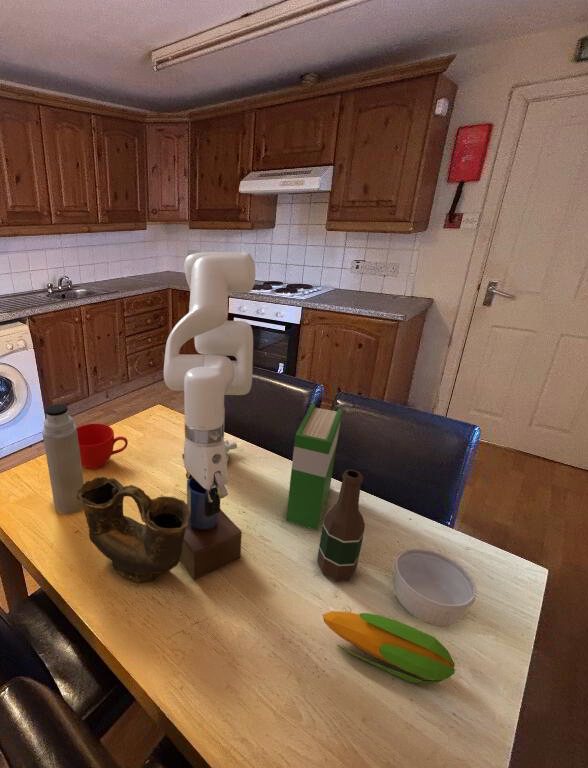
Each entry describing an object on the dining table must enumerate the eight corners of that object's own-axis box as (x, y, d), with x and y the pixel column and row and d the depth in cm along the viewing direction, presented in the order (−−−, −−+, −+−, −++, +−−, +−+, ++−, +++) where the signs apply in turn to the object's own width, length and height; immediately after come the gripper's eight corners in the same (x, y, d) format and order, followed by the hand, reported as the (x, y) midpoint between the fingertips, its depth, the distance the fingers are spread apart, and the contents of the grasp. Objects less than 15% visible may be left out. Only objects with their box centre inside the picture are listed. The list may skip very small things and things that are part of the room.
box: (166, 540, 96) (166, 517, 93) (209, 523, 100) (209, 500, 98) (194, 580, 85) (194, 555, 83) (240, 558, 90) (241, 534, 88)
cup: (207, 504, 94) (208, 471, 90) (224, 522, 88) (225, 487, 84) (181, 514, 91) (181, 480, 87) (197, 533, 85) (197, 498, 82)
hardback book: (302, 480, 115) (311, 403, 106) (329, 488, 112) (342, 409, 103) (285, 520, 101) (295, 434, 91) (317, 530, 98) (330, 442, 88)
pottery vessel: (74, 562, 90) (62, 487, 82) (103, 529, 99) (95, 459, 91) (177, 605, 80) (175, 525, 72) (199, 565, 89) (200, 489, 81)
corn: (463, 673, 60) (321, 616, 69) (451, 708, 63) (315, 650, 71) (458, 632, 66) (328, 585, 75) (446, 666, 69) (322, 617, 78)
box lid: (165, 515, 93) (164, 512, 93) (208, 499, 98) (208, 496, 98) (194, 555, 83) (194, 552, 82) (241, 534, 88) (241, 531, 87)
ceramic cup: (126, 475, 119) (124, 445, 115) (67, 475, 119) (63, 446, 115) (131, 451, 131) (129, 423, 127) (78, 451, 131) (74, 423, 127)
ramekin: (469, 646, 72) (480, 618, 69) (385, 613, 78) (392, 586, 75) (464, 589, 82) (473, 562, 80) (390, 564, 88) (397, 539, 86)
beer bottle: (354, 558, 90) (373, 465, 80) (356, 587, 83) (377, 490, 73) (317, 550, 92) (331, 459, 83) (315, 577, 85) (331, 481, 76)
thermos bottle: (61, 493, 112) (46, 399, 101) (89, 494, 111) (78, 400, 100) (49, 513, 105) (32, 414, 94) (80, 514, 104) (67, 416, 93)
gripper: (246, 445, 75) (241, 522, 82) (197, 408, 89) (197, 476, 96) (211, 456, 72) (209, 536, 79) (166, 416, 86) (168, 486, 93)
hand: (203, 502), depth 88 cm, fingers closed on cup, 6 cm apart
